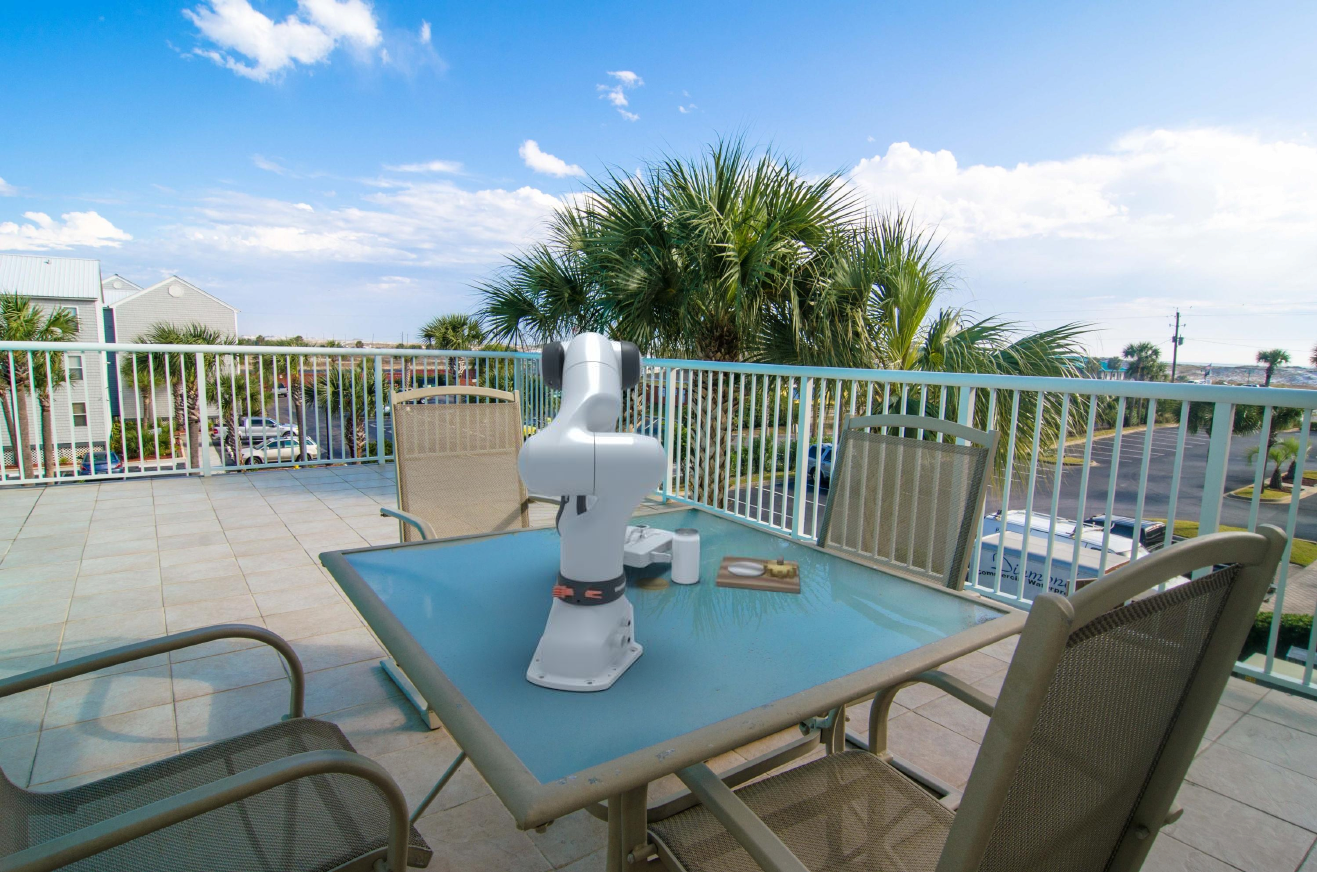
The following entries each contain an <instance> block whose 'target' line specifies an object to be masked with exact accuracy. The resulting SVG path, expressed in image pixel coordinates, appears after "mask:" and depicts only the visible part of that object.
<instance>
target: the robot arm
mask: <svg viewBox="0 0 1317 872" xmlns="http://www.w3.org/2000/svg"><path fill="white" fill-rule="evenodd" d="M538 370H539V371H538V372H539V376H540V378H541V380H542V382H543V384H544V386H546V388H548V389H549V390H550V389H551V390H554V391H559V392H560V391H561V398H560V399H561V401H560V408H559V410H558V413H557V414H556V416H555V417H554V418H553V420H552V421H551V422H550V423H549V424H548V425H547V426H545V427H544V428H543V429H542V430H540V431H539V432H536V433H534V434H533V435H531V436H529V437H528V438H527V439H526V440H525V441H524V442H523V444H522V446H521V447H520V449H519V452H518V455H517V458H516V459H517V461H516V462H517V463H516V464H517V465H516V466H517V472H518V475H519V478H520V480H521V482H522V484H523V485H524V487H526V489H528V490H529V491H531V492H533V493H534V492H535V493H539V494H543V495H544V494H545V495H550V496H560V504H559V508H558V510H557V513H556V516H555V528H556V530H557V533H558V535H559V537H560V569H559V570H558V573H557V579H556V584H555V585H554V586H553V590H552V597H553V601H552V602H553V603H552V605H551V608H550V611H549V615H548V619H547V621H546V624H545V628H544V631H543V635H542V636H541V638H540V640H539V642H538V645H537V648H536V649H535V652H534V654H533V657H532V659H531V661H530V664H529V666H528V669H527V672H526V677H525V679H526V680H527V681H529V682H530V683H532V684H535V685H538V686H542V687H545V688H551V689H557V690H562V691H564V690H565V691H571V692H595V691H602V690H607V689H609V688H610V687H611V686H612V685H614V683H615V682H616V681H617V680H618V679H619V678H620V677H621V676H622V675H623V674H624V673H625V672H626V671H627V669H628V668H629V667H630V666H632V664H633V663H634V662H635V661H636V660H637V659H638V658H639V657H640V656H641V655H642V654H643V646H642V645H641V644H639V643H638V642H636V641H635V627H634V626H635V624H634V622H635V621H634V606H633V605H632V603H631V602H630V601H629V600H628V599H627V597H626V595H625V592H626V584H627V578H626V571H625V569H624V565H626V566H630V567H634V568H645V567H646V566H648V565H650V564H652V563H670V562H671V563H672V560H673V554H672V540H673V535H674V533H675V531H674V532H673V531H669V530H665V529H660V528H650V526H649V525H647V524H642V525H636V526H635V525H634V526H632V525H629V523H630V521H631V519H632V516H633V514H634V513H635V511H636V510H637V508H638V507H639V506H640V504H641V503H642V502H643V501H644V500H645V499H646V498H647V497H648V496H650V495H651V494H652V493H654V492H655V491H656V490H657V489H658V488H659V487H660V486H661V485H662V484H663V482H664V480H665V478H666V475H667V471H668V456H667V454H666V451H665V449H664V446H663V445H662V443H661V442H660V441H659V440H658V439H657V438H656V437H653V436H650V435H649V436H648V435H644V434H640V433H634V432H616V427H617V421H618V418H619V417H620V415H621V412H622V393H621V392H622V391H625V390H630V389H633V388H635V387H636V386H637V385H638V384H639V383H640V380H641V377H642V375H643V372H644V360H643V356H642V353H641V352H640V349H639V347H638V345H636V343H635V342H632V341H628V340H619V341H617V340H609V339H608V338H607V337H606V336H605V335H603V334H601V333H598V332H593V331H588V332H587V331H586V332H582V333H580V334H578V335H576V336H575V337H573V339H571V340H566V341H561V340H555V341H552V342H549V343H546V344H545V345H544V347H542V349H541V352H540V356H539V359H538Z"/></svg>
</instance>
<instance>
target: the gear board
mask: <svg viewBox="0 0 1317 872" xmlns="http://www.w3.org/2000/svg"><path fill="white" fill-rule="evenodd" d="M784 559H785V556H784V555H781V554H778V555H776V559H768V558H756V557H755V558H754V557H744V556H733V555H732V556H731V555H723V557H722V560H721V564H720V566H719V570H718V573H717V576H716V580H715V587H721V588H722V587H723V588H734V589H735V588H736V589H745V590H747V589H748V590H756V591H757V590H758V591H766V592H767V591H768V592H779V593H780V592H781V593H788V594H791V593H792V594H800V592H801V591H800V590H801V588H800V587H801V586H800V573H799V561H793V560H784Z"/></svg>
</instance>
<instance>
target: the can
mask: <svg viewBox="0 0 1317 872" xmlns="http://www.w3.org/2000/svg"><path fill="white" fill-rule="evenodd" d="M700 546H701V538H700V535H699V530H698V529H695V528H691V527H680V528H677V529H674V535H673V540H672V551H671V554H673V560H672V561H671V580H672V581H673V582H674V583H675V584H679V585H683V586H684V585H685V586H687V585H694V584H696V583H698V581H699V578H700V549H701V547H700Z"/></svg>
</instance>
